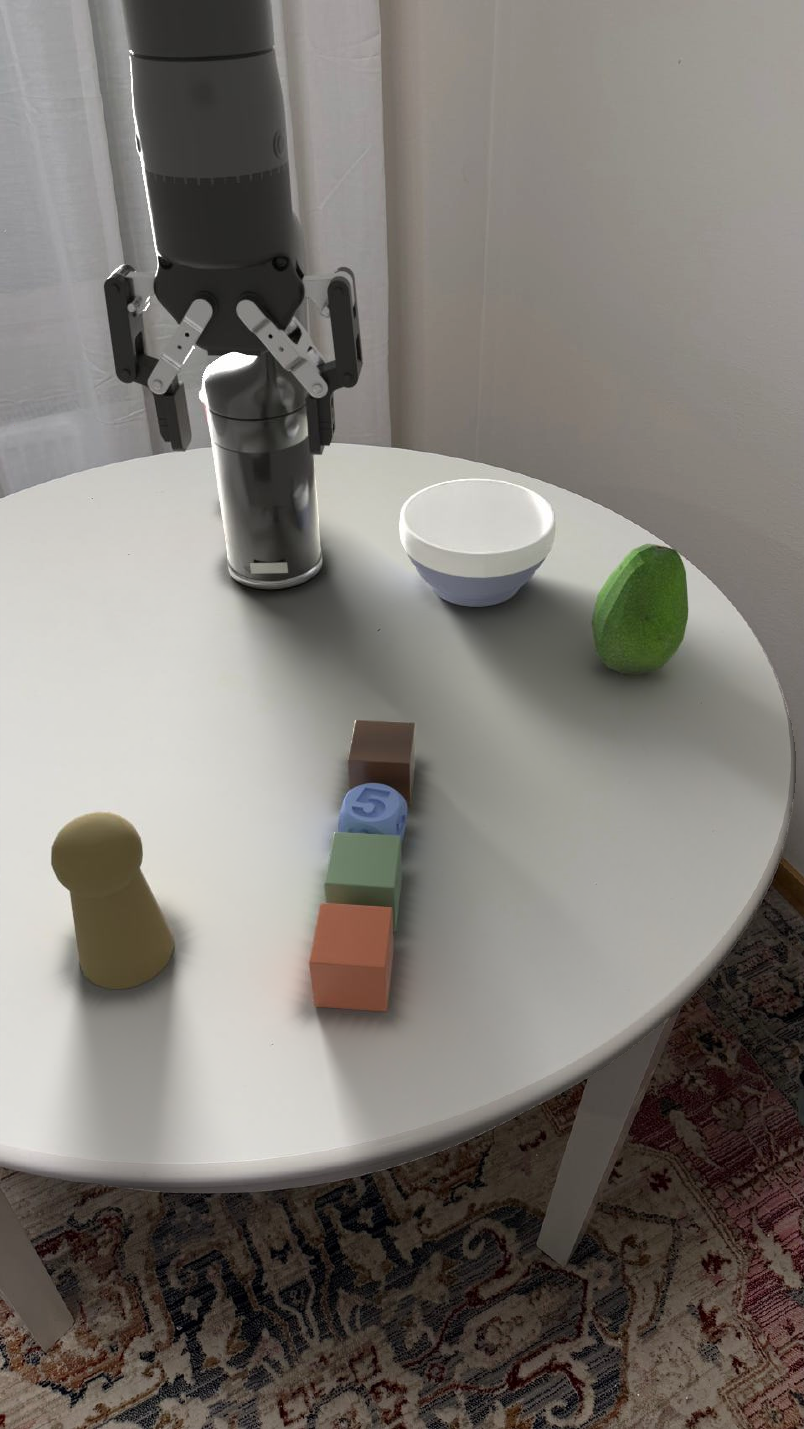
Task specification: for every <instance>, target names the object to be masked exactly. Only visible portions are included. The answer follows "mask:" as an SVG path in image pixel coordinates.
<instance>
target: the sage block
mask: <svg viewBox="0 0 804 1429" xmlns="http://www.w3.org/2000/svg"><path fill="white" fill-rule="evenodd" d="M330 845H331V846H330V850H329V856H328V862H327V866H326V871H325V877H324V883H323V886H324V897H325V903H330V904H346V905H362V906H378V907H392V911H393V933H396V932H397V927H398V917H399V909H400V900H401V892H402V884H403V883H402V882H403V866H402V864H403V863H402V860H403V859H402V843H401V836H394V835H377V834H359V833H342V832H337V831H334V832H333V835H332V840H331V844H330Z"/></svg>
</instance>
